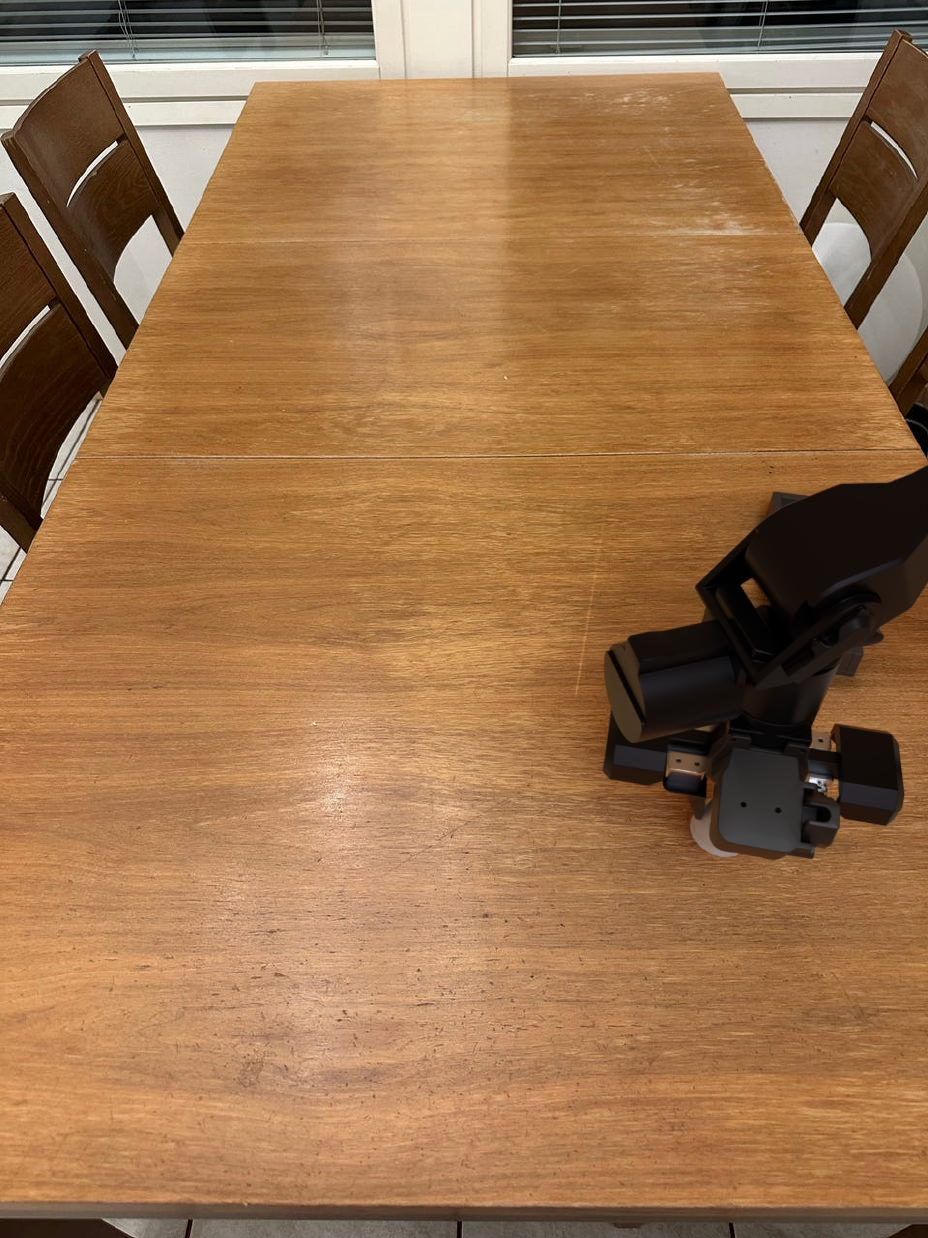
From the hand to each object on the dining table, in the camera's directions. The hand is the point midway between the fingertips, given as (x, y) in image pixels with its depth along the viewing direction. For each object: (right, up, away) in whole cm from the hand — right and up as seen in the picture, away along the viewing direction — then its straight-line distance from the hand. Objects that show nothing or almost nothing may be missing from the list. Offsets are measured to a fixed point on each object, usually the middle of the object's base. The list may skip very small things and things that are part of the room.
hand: (724, 818), depth 69 cm
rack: (+14, +17, +22) cm, 31 cm away
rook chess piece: (0, -1, +2) cm, 2 cm away
